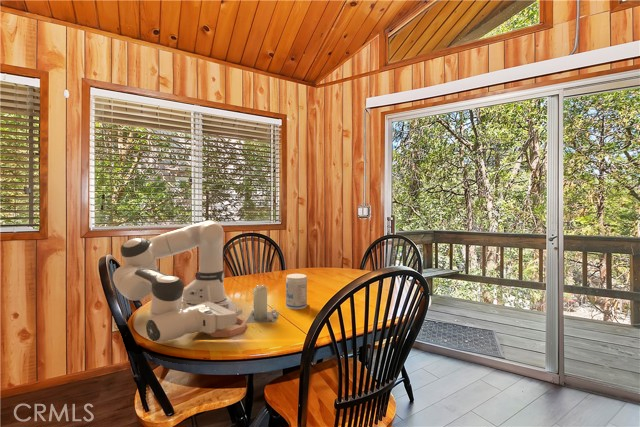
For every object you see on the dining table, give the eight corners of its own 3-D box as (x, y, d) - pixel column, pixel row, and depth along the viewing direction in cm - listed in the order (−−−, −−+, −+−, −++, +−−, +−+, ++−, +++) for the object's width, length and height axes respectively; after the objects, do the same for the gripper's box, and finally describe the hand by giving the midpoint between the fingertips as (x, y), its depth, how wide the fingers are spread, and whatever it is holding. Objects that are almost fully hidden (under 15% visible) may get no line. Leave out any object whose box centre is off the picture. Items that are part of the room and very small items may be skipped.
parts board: (245, 324, 125) (245, 317, 125) (251, 314, 137) (251, 307, 137) (276, 324, 126) (276, 316, 126) (279, 313, 138) (279, 306, 138)
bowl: (200, 339, 112) (200, 331, 112) (212, 323, 126) (212, 316, 126) (241, 338, 112) (240, 330, 112) (249, 323, 127) (248, 316, 126)
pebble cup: (252, 320, 128) (252, 286, 127) (254, 315, 133) (254, 283, 133) (266, 320, 128) (266, 286, 127) (268, 315, 133) (267, 283, 133)
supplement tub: (281, 308, 145) (281, 275, 145) (296, 303, 153) (296, 272, 152) (296, 312, 139) (296, 279, 139) (311, 307, 146) (311, 275, 146)
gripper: (186, 319, 119) (220, 310, 129) (213, 334, 105) (249, 323, 115) (186, 302, 119) (220, 294, 129) (213, 315, 105) (249, 306, 115)
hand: (234, 308), depth 122 cm, fingers open, 8 cm apart
